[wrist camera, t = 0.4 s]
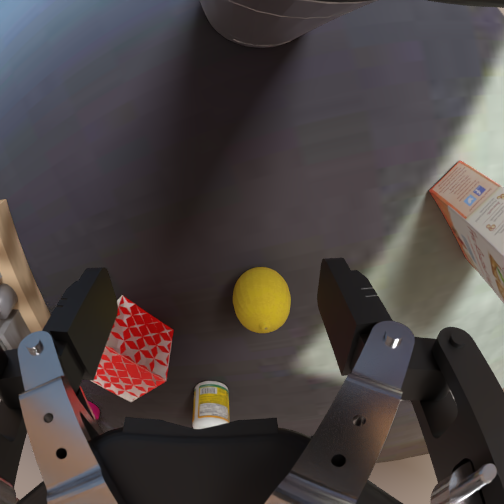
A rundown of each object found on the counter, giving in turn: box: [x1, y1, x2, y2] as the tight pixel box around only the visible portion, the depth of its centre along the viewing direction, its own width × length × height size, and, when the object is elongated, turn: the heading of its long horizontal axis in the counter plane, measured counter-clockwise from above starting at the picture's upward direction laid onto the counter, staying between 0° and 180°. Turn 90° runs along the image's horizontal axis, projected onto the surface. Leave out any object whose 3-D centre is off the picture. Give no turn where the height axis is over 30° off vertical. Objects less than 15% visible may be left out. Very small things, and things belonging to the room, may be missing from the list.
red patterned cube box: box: [90, 295, 174, 402], centre depth 33 cm, size 8×8×8 cm
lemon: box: [233, 267, 291, 333], centre depth 30 cm, size 6×6×8 cm
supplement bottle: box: [192, 381, 229, 429], centre depth 41 cm, size 5×5×10 cm
